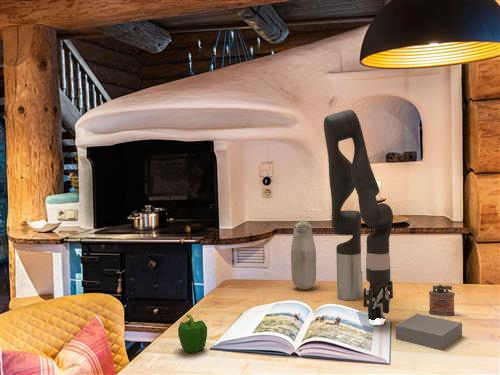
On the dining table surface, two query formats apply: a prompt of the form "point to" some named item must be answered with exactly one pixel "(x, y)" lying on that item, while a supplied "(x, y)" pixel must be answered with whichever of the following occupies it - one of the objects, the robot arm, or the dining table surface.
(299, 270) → the grey bottle
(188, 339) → the bell pepper
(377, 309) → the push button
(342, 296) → the robot arm
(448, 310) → the lighter
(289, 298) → the dining table surface
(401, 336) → the slate stand
